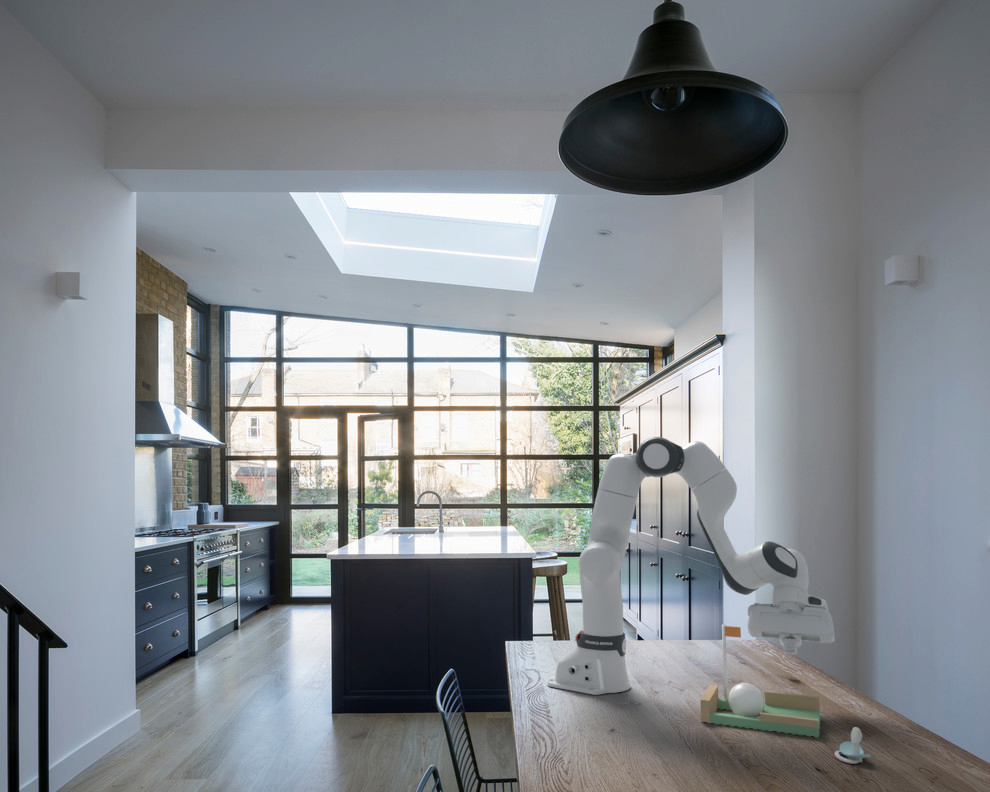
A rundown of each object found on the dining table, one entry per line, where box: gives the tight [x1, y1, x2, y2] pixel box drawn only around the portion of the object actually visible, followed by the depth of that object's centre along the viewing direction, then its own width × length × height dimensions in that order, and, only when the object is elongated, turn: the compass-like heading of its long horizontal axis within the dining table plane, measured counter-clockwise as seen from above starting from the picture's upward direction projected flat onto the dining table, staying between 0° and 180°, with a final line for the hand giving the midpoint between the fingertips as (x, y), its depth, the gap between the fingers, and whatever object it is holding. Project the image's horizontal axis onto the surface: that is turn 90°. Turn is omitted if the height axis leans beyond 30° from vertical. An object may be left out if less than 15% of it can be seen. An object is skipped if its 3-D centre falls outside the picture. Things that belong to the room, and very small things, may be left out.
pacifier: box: [834, 726, 872, 765], centre depth 147 cm, size 7×6×6 cm
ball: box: [728, 682, 765, 718], centre depth 173 cm, size 8×8×8 cm
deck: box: [700, 624, 821, 738], centre depth 172 cm, size 25×14×20 cm, turn 65°
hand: (790, 652), depth 179 cm, fingers closed
